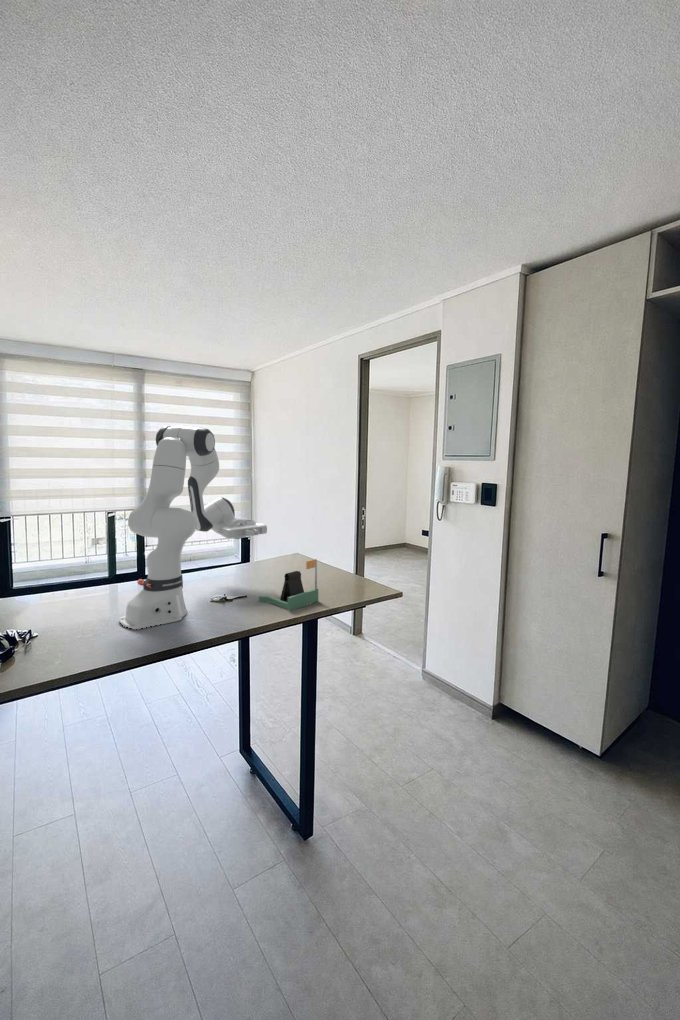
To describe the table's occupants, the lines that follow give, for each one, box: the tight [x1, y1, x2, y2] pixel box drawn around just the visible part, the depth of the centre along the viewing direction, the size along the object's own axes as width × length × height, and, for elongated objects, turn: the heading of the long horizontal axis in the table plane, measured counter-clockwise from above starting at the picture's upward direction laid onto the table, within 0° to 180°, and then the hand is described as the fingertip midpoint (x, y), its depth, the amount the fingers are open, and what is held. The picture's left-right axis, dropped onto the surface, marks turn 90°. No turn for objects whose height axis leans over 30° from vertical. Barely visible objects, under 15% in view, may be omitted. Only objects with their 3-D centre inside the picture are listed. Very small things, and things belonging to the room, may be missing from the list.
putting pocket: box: [258, 558, 319, 612], centre depth 175 cm, size 17×18×17 cm
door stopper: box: [279, 570, 305, 602], centre depth 175 cm, size 9×6×12 cm, turn 48°
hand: (255, 533), depth 186 cm, fingers closed
